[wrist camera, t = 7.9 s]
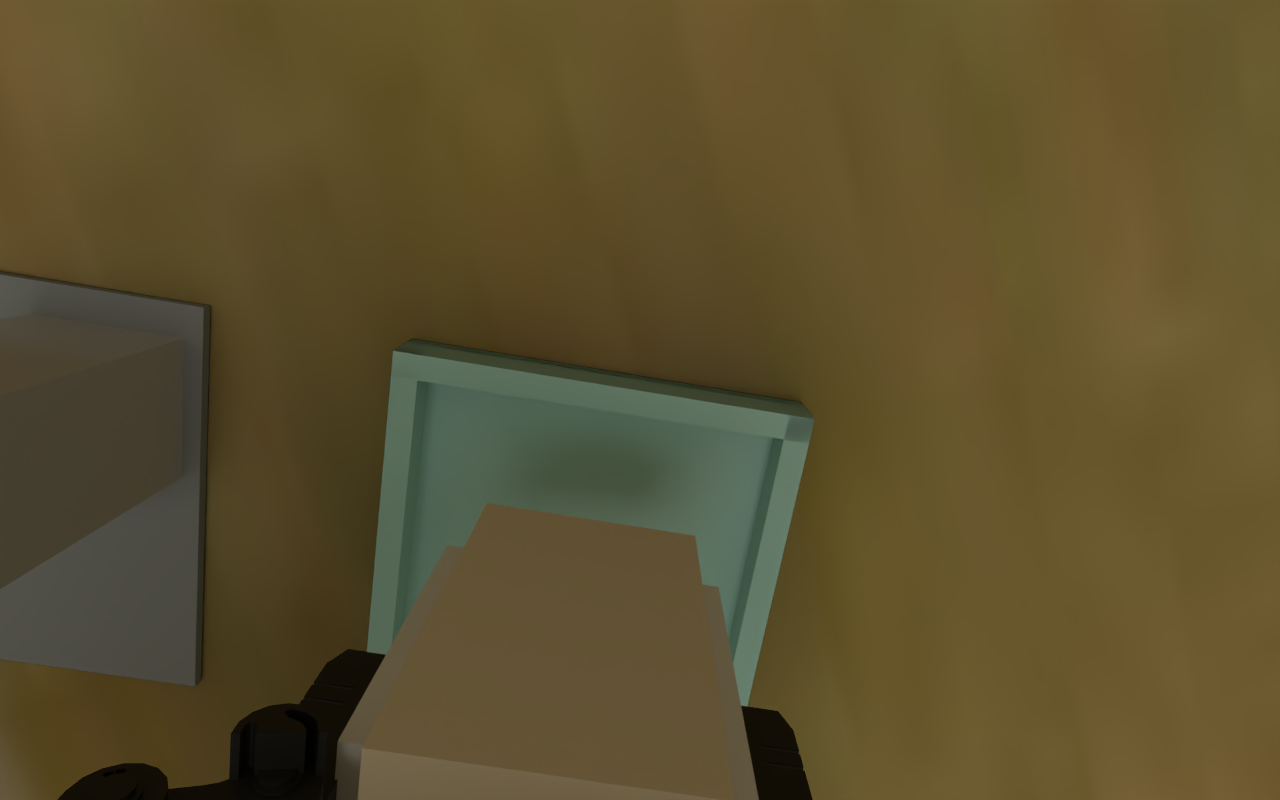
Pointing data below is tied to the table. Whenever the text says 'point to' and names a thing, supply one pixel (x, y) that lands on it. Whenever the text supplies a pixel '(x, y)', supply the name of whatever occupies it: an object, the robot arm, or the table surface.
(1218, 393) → the table surface
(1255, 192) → the table surface
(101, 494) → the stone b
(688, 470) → the teal bin
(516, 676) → the beige rectangular block
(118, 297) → the slate mat
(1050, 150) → the table surface
